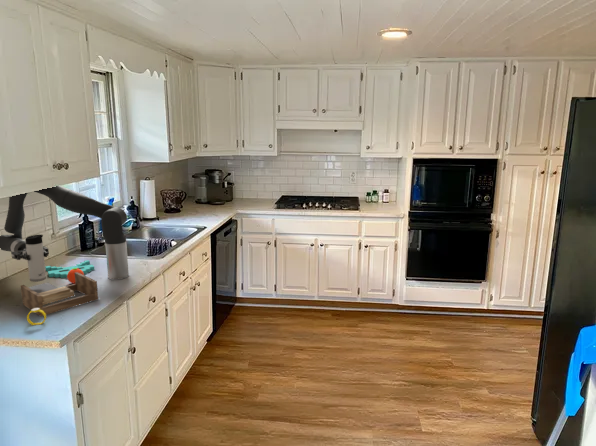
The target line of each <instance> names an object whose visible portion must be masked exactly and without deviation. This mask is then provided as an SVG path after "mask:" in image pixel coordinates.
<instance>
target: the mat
mask: <svg viewBox="0 0 596 446" xmlns="http://www.w3.org/2000/svg"><path fill="white" fill-rule="evenodd" d="M27 287H28V288H30V289H31V290H33V291H35V292H36V293H41V292H45V291H49V290H53V289H57V288H58V287H57V286H55V285H53V284H51V283H50V282H44V283H41V284H36V285H32V286H27Z"/></svg>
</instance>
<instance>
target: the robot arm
mask: <svg viewBox="0 0 596 446" xmlns="http://www.w3.org/2000/svg"><path fill="white" fill-rule="evenodd" d="M33 193H36V194H40V195H43V196H45V197H46V198H47V197H48V199H50V200H51V201H52V202H53V203H54V204H55V205H56V206H58V207H59V208H61V209H63V210H64V209H65V210H67V211H69V212H72V213H76V214H80V215H87V216H92V217H93V216H94V217H96V218H99V219H100V221H101V222H100V223H101V230H102V238H103V239H104V242H105V243H104V244H105V254H106V264H107V265H106V270H107V278H108V279H110V280H122V279H123V280H124V279H126V278H128V277H129V261H128V259H129V258H128V248H127V236H126V235H125V234H124V230H123V225H124V224H126V221H127V220H128V216H127V213H126V211H125V210H124V209H122V208H120V207H117V206H114V205H111V204H108V203H103V202H100V201H98V200H96V199H94V198H91V197H89V196H87V195H84V194H82V193H80V192H77V191H75V190H73V189H70V188H67V187H65V186H62V185H59V186H56V187H52V188H47V189H42V190H39V191H34V192H33ZM28 194H29V193H25V194H20V195H16V196H12V197H8V209H7V214H6V219H5V223H4V231H5V232H7V234H0V235H1V236H0V248H1V251H4V252H10V253H11V258H12V259H14V260H17V261H21V260H25V261H27V262H28V261H29V260H30V256H29V255H28V254H27V250H26V239H25V240H24V239H23V234H22V233H23V225H24V222H25V217H26V215H25V209H24V201H25V199H26V198H27V195H28ZM43 251H44V258H48V256H49V254H50V252H49V247H47V246H44V245H43Z"/></svg>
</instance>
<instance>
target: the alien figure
mask: <svg viewBox="0 0 596 446" xmlns="http://www.w3.org/2000/svg"><path fill="white" fill-rule="evenodd" d="M73 268H78V269H80V270H82V271H83V273H84V275H87V274H88V273H91V271H95V266H94V264H91V263H90V260H88V259H87V260H84V261H83V262H79V263H78V264H75V265H72V266H65V267H64V266H51V265H45V271H46V272H47V276H48V277H49V278H53V277H54V278H55V279H56V278H61V279H65V278H66V279H67V280H68V278H67V275H68V272H69V271H70V270H72V269H73Z"/></svg>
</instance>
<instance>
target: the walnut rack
mask: <svg viewBox="0 0 596 446" xmlns="http://www.w3.org/2000/svg"><path fill="white" fill-rule="evenodd" d="M75 283H76V284H74V283H71V284H70V285H66V286H65V285H64V286H65V287H67V288H70V290H73V291H74V292H79V293H82V294H83V295H80V296H76V297H73V298H69V299H67V300H63V301H62V300H61V301H60V302H59V301H57V302H54V303H50V304H47V305H43V303H42V296H41V295H40V294H38V293H36V292H35V291H33V290H31V289H30V288H28V287H29V286H27V285H24V284H21V285H20V293H21V300H22V305H23V306H25V307H26V308H28V309H29V310H30V311H31V310H32V309H34V308H40V310H43V311H44V312H45V313H46V316H47V315H50V314H54V313H56V312H61V311H64V310H67V309H70V307H71V308H74V307H76V305H77V306H80V305H79V304H81V305H83V304H84V305H85V304H87V302H88V303H90V301H91V302H93V301H97V300H99V291H98V282H97V280H95V279H93V278H90V277H89V276H86V275H85V274H84V275H82V274H80V273H78V272H76V273H75ZM49 291H50V290H49ZM45 292H46V291H45ZM41 293H42V292H41ZM73 306H74V307H73ZM34 313H35V314H36V315H38V317H39V316H40V317H42V316H43V317H44V315H43V314H42V313H41V312H34Z"/></svg>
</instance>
